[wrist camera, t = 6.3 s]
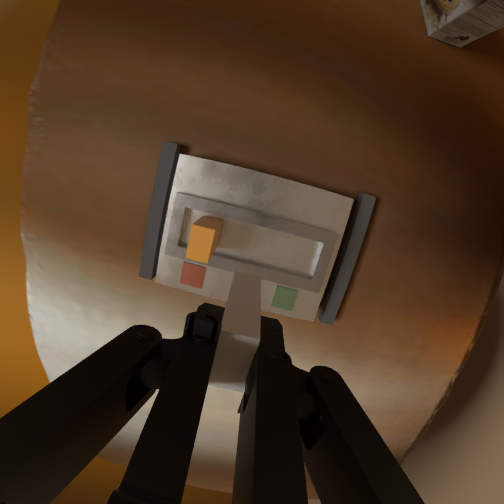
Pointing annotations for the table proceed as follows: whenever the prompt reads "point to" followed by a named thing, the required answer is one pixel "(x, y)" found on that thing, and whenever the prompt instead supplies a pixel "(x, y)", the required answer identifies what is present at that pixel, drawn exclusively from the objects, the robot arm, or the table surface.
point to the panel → (253, 235)
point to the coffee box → (462, 19)
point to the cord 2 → (347, 257)
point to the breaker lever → (203, 239)
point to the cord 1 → (158, 209)
